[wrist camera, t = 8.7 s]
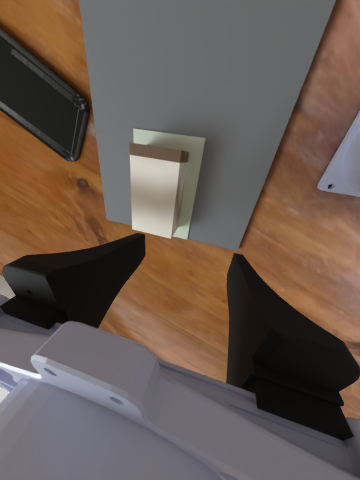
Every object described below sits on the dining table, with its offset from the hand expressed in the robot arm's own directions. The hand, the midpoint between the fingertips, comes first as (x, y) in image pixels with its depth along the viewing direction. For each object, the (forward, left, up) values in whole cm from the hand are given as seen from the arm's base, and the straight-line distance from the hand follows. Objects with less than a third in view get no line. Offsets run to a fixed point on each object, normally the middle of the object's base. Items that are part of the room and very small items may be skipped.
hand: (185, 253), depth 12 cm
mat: (+4, -8, -9) cm, 13 cm away
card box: (+5, -3, -9) cm, 10 cm away
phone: (+23, -10, -10) cm, 27 cm away
